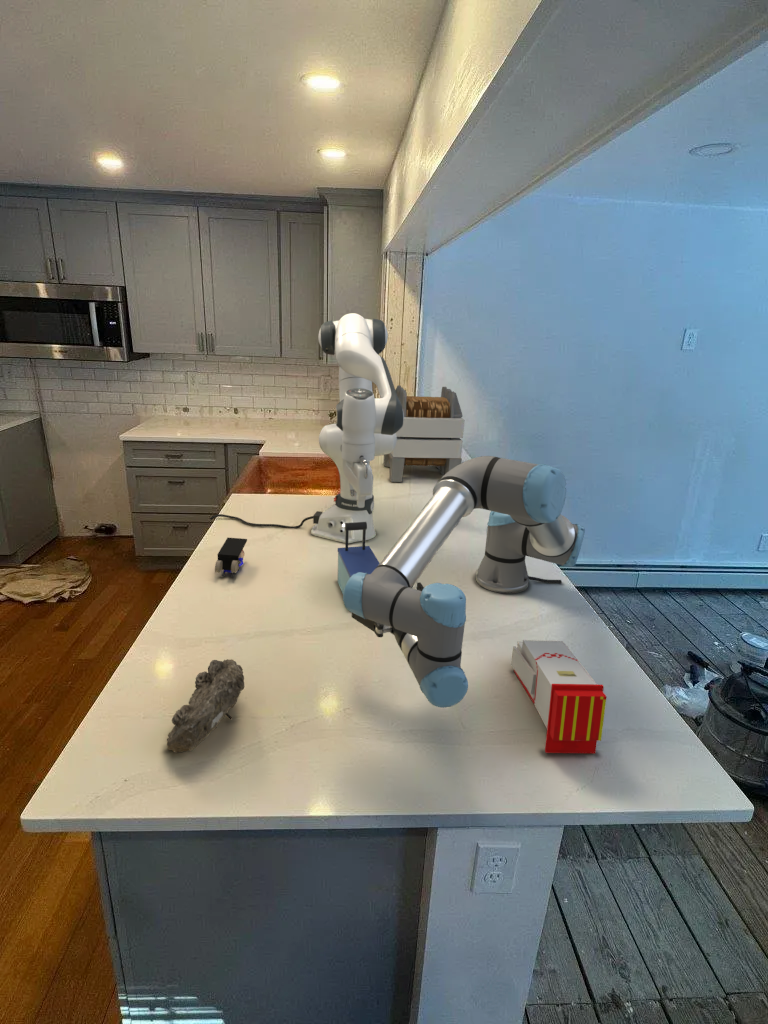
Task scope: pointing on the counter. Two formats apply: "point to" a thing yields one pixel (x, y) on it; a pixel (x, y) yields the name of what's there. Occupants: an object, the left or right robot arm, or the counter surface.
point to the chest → (342, 574)
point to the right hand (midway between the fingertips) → (389, 590)
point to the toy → (561, 695)
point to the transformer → (427, 433)
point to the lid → (357, 553)
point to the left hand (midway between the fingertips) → (356, 501)
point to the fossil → (206, 705)
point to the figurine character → (230, 556)
